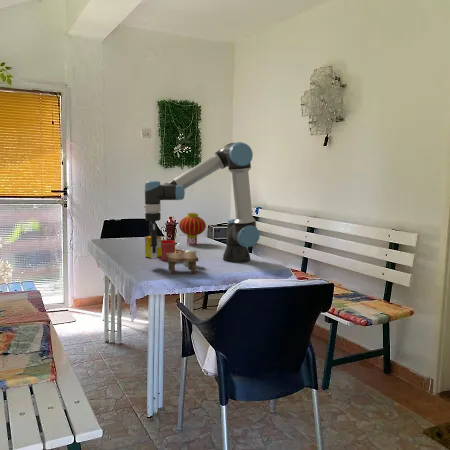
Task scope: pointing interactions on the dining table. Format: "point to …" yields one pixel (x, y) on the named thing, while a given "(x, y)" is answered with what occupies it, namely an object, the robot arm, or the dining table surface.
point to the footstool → (182, 260)
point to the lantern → (192, 227)
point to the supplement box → (148, 248)
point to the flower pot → (167, 248)
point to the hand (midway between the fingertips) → (153, 257)
